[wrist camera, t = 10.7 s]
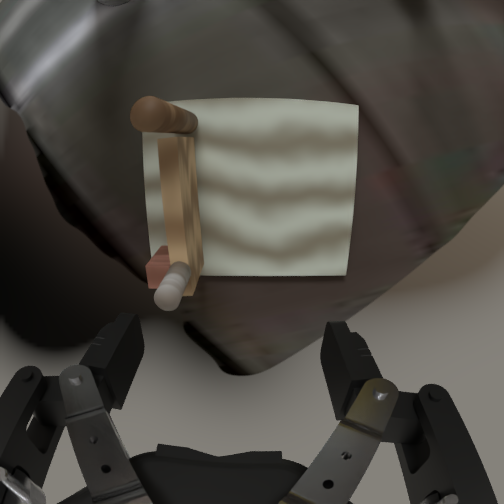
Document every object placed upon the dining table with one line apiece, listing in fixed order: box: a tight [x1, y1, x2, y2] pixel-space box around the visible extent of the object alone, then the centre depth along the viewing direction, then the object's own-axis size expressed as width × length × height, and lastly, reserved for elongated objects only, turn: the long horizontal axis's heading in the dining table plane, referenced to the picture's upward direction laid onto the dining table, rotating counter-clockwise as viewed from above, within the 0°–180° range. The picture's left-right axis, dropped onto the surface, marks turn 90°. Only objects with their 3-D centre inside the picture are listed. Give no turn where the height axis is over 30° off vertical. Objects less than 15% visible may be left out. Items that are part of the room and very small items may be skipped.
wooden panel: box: [154, 137, 204, 311], centre depth 31 cm, size 17×2×15 cm, turn 2°
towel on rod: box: [130, 96, 358, 289], centre depth 31 cm, size 24×28×16 cm
